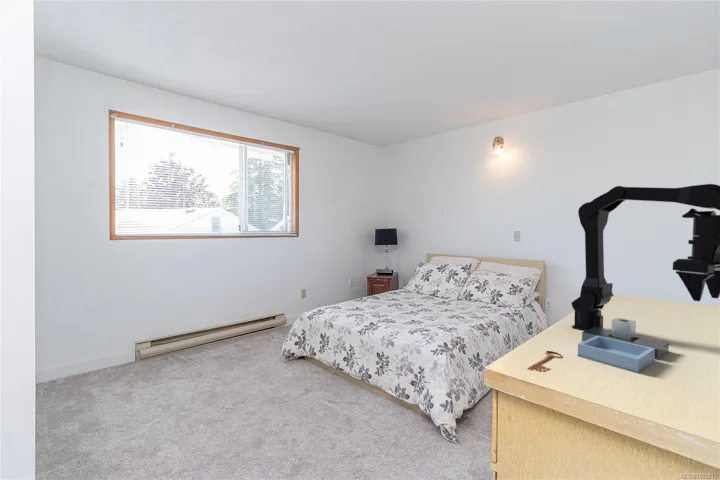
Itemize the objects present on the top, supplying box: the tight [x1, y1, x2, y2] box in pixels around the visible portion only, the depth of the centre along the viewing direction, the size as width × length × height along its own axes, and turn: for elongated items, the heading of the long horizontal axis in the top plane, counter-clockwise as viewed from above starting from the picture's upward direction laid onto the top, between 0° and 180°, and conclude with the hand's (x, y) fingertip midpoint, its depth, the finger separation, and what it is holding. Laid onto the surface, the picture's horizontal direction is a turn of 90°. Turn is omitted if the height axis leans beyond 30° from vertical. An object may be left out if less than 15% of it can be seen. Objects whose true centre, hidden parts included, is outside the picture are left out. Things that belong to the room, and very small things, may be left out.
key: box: [526, 350, 564, 373], centre depth 75 cm, size 6×1×15 cm
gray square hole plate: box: [581, 327, 670, 361], centre depth 85 cm, size 16×9×2 cm, turn 34°
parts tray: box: [577, 336, 656, 374], centre depth 77 cm, size 12×12×3 cm
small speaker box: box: [611, 317, 637, 342], centre depth 85 cm, size 4×4×7 cm
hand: (706, 299), depth 79 cm, fingers open, 9 cm apart
